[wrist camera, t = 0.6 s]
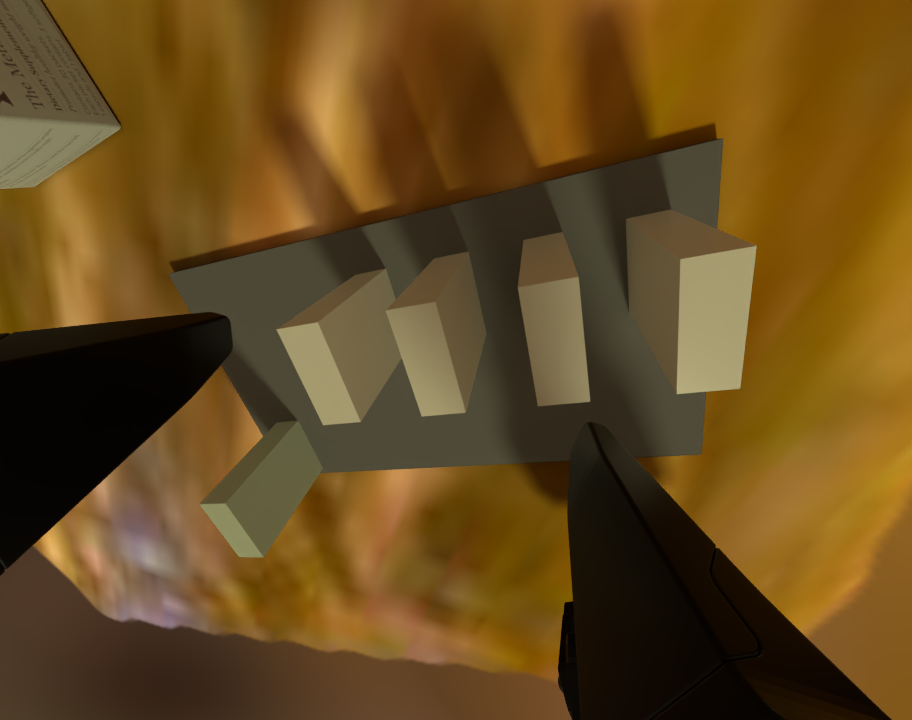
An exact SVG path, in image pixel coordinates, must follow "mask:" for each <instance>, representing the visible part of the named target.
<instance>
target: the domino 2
mask: <svg viewBox="0 0 912 720" xmlns="http://www.w3.org/2000/svg"><path fill="white" fill-rule="evenodd" d="M395 300H396V299H395V295H394V292H393V289H392V286H391V283H390V280H389V277H388V274H387V271H386V269H381V270H376V271H371V272H366V273H362V274H357V275H354V276H353V277H352V278H350V279H349V280H347V281H346V282H344V283H343V284H341V285H340V286H339V287H337V288H336V289H334V290H333V291H331V292H330V293H328V294H327V295H325V296H324V297H323V298H321V299H320V300H318V301H317V302H315V303H314V304H312V305H311V306H310V307H308V308H307V309H305V310H304V311H302V312H301V313H299V314H298V315H297V316H295V317H294V318H292V319H291V320H289V321H288V322H286V323H285V324H284V325H282V326H281V327H279V328H278V329H276V330H277V332H278V334H279V336H280V338H281V340H282V342H283V344H284V346H285V348H286V350H287V352H288V354H289V356H290V358H291V360H292V362H293V365H294V367H295V369H296V371H297V373H298V375H299V377H300V379H301V381H302V383H303V385H304V387H305V389H306V391H307V393H308V395H309V397H310V399H311V401H312V403H313V406H314V408H315V410H316V412H317V414H318V416H319V418H320V420H321V422H322V424H323V425H332V424H343V423H355V422H361V421H362V419H363V418H364V416H365V415H366V413H367V411H368V410H369V408H370V407H371V405H372V404H373V402H374V400H375V399H376V397H377V396H378V394H379V393H380V391H381V390H382V388H383V386H384V385H385V383H386V382H387V380H388V379H389V377H390V376H391V374H392V372H393V371H394V369H395V368H396V366H397V365H398V363H399V361H400V360H401V358H402V357H401V354H400V351H399V348H398V345H397V342H396V339H395V336H394V333H393V330H392V327H391V325H390V322H389V319H388V316H387V313H386V310H387V309H388V307H389V306H390V305H391V304H392V303H393V302H394V301H395Z"/></svg>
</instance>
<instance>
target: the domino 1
mask: <svg viewBox="0 0 912 720" xmlns="http://www.w3.org/2000/svg"><path fill="white" fill-rule="evenodd" d="M322 469H323V467H322V465H321V463H320V462H319V460H318V458H317V456H316V454H315V452H314V450H313V448H312V446H311V444H310V442H309V440H308V438H307V437H306V435H305V433H304V431H303V429H302V427H301V425H300V423H299V421H287V422H277V423H276V424H275V425H274V426H273V427H272V428H271V429H270V430H269V431H268V432H267V433H266V434H265V435H264V437H263V438H262V439H261V440H260V441H259V442H258V443H257V444H256V445H255V446H254V447H253V448H252V449H251V450H250V451H249V452H248V453H247V454H246V456H245V457H244V458H243V459H242V460H241V461H240V462H239V463H238V464H237V465H236V466H235V467H234V468H233V469H232V470H231V471H230V472H229V473H228V474H227V476H226V477H225V478H224V479H223V480H222V481H221V482H220V483H219V484H218V485H217V486H216V487H215V488H214V489H213V490H212V491H211V492H210V493H209V495H208V496H207V497H206V498H205V499H204V500H203V501H202V502H201V503H200V506H201V507H202V508H203V510H204V511H205V512H206V514H207V515H208V516H209V518H210V519H211V520H212V522H213V523H214V524H215V526H216V527H217V528H218V530H219V531H220V532H221V533H222V535H223V536H224V537H225V539H226V540H227V541H228V543H229V544H230V545H231V547H232V548H233V549H234V551H235V552H236V553H237V555H238V556H239V557H264V556H265V555H266V553H267V552H268V550H269V549H270V547H271V546H272V544H273V543H274V541H275V540H276V538H277V537H278V535H279V534H280V532H281V531H282V529H283V528H284V526H285V525H286V523H287V522H288V520H289V519H290V517H291V516H292V514H293V513H294V511H295V510H296V508H297V507H298V505H299V504H300V502H301V501H302V499H303V498H304V496H305V495H306V493H307V492H308V490H309V489H310V487H311V486H312V484H313V483H314V481H315V480H316V478H317V477H318V475H319V474H320V472H321V471H322Z"/></svg>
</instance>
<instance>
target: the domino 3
mask: <svg viewBox="0 0 912 720" xmlns="http://www.w3.org/2000/svg"><path fill="white" fill-rule="evenodd" d="M386 313H387V316H388V319H389V322H390V325H391V327H392V330H393V333H394V336H395V339H396V342H397V345H398V348H399V351H400V354H401V357H402V360H403V363H404V366H405V369H406V372H407V375H408V378H409V381H410V383H411V386H412V389H413V392H414V395H415V398H416V401H417V404H418V407H419V410H420V413H421V416H422V417H423V416H434V415H446V414H457V413H466V410H467V406H468V403H469V399H470V395H471V391H472V387H473V383H474V380H475V376H476V372H477V368H478V364H479V360H480V357H481V353H482V349H483V345H484V341H485V338H486V334H487V333H486V329H485V324H484V320H483V315H482V311H481V306H480V301H479V297H478V292H477V288H476V283H475V279H474V274H473V270H472V265H471V261H470V256H469V251H468V252H463V253H458V254H453V255H449V256H444V257H439V258H434V259H433V260H432V261H431V262H430V263H429V265H428V266H427V267H426V268H425V269H424V270H423V271H422V272H421V273H420V274H419V275H418V276H417V277H416V278H415V280H414V281H413V282H412V283H411V284H410V285H409V286H408V287H407V288H406V289H405V290H404V291H403V292H402V294H401V295H400V296H399V297H398V298H397V299H396V300H395V301H394V302H393V303H392V304H391V305H390V306H389V307H388V309H387V310H386Z"/></svg>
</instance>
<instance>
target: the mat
mask: <svg viewBox="0 0 912 720" xmlns="http://www.w3.org/2000/svg"><path fill="white" fill-rule="evenodd" d="M722 148H723V139H715V140H711V141H707V142H703V143H699V144H695V145H691V146H687V147H682V148H678V149H674V150H670V151H666V152H662V153H658V154H654V155H650V156H646V157H642V158H638V159H633V160H629V161H625V162H621V163H617V164H613V165H609V166H605V167H601V168H597V169H593V170H589V171H584V172H580V173H576V174H572V175H568V176H564V177H560V178H556V179H552V180H548V181H544V182H540V183H536V184H531V185H527V186H523V187H519V188H515V189H511V190H507V191H503V192H499V193H495V194H491V195H487V196H482V197H478V198H474V199H470V200H466V201H462V202H458V203H454V204H450V205H446V206H442V207H438V208H433V209H429V210H425V211H421V212H417V213H413V214H409V215H405V216H401V217H397V218H393V219H389V220H385V221H380V222H376V223H372V224H368V225H364V226H360V227H356V228H352V229H348V230H344V231H340V232H336V233H331V234H327V235H323V236H319V237H315V238H311V239H307V240H303V241H299V242H295V243H291V244H287V245H282V246H278V247H274V248H270V249H266V250H262V251H258V252H254V253H250V254H246V255H242V256H238V257H234V258H229V259H225V260H221V261H217V262H213V263H209V264H205V265H201V266H197V267H193V268H189V269H185V270H180V271H176V272H173V273H170V274H169V276H170V278H171V279H172V281H173V283H174V285H175V286H176V288H177V290H178V291H179V293H180V295H181V297H182V298H183V300H184V302H185V303H186V305H187V307H188V309H189V310H190V312H191V314H193V313H203V312H215V313H218V314H221V315H225V316H227V317H228V318H229V319H230V322H231V330H232V339H233V349H232V352H231V354H230V355H229V356H228V358H227V359H226V360H225V361H224V362H223V363H222V364H221V365H222V367H223V368H224V370H225V372H226V373H227V375H228V377H229V379H230V380H231V382H232V384H233V385H234V387H235V389H236V391H237V392H238V394H239V396H240V397H241V399H242V401H243V403H244V404H245V406H246V408H247V409H248V411H249V413H250V415H251V416H252V418H253V420H254V421H255V423H256V425H257V426H258V428H259V430H260V432H261V433H262V435H263V437H264V435H265V434H266V433H267V432H268V431H269V430H270V429H271V428H272V427H273V426H274V425H275V424H276V423H277V422H287V421H299V423H300V425H301V427H302V429H303V431H304V433H305V435H306V437H307V438H308V440H309V442H310V444H311V446H312V448H313V450H314V452H315V454H316V456H317V458H318V460H319V462H320V463H321V465H322V467H323V469H322V471H321V472H320V473H330V472H350V471H371V470H391V469H412V468H432V467H453V466H473V465H494V464H515V463H535V462H556V461H570V454H571V450H572V447H573V444H574V442H575V440H576V438H577V436H578V434H579V432H580V430H581V428H582V426H583V425H584V423H585V422H587V421H592V422H595V423H599V424H602V425H604V426H606V427H607V428H608V430H609V431H610V432H611V433H612V434H613V435H614V436H615V437H616V438H617V439H618V440H619V441H620V442H621V444H622V445H623V446H624V447H625V448H626V449H627V450H628V451H629V452H630V453H631V454H632V455H633V456H634V458H638V457H658V456H679V455H699V454H702V441H703V426H704V412H705V397H706V392H696V393H684V394H676V392H675V390H674V389H673V387H672V385H671V384H670V382H669V380H668V379H667V377H666V375H665V373H664V372H663V370H662V368H661V367H660V365H659V363H658V361H657V360H656V358H655V356H654V355H653V353H652V351H651V350H650V348H649V346H648V344H647V343H646V341H645V339H644V338H643V336H642V334H641V332H640V331H639V329H638V327H637V326H636V324H635V322H634V321H633V319H632V317H631V315H630V314H629V296H628V268H627V239H626V219H627V218H632V217H637V216H642V215H647V214H651V213H656V212H661V211H666V210H674V211H676V212H678V213H681V214H683V215H685V216H688V217H690V218H692V219H695V220H697V221H699V222H702V223H704V224H706V225H709V226H711V227H713V228H716V229H717V222H718V207H719V192H720V178H721V163H722ZM560 232H563V234H564V237H565V240H566V243H567V245H568V248H569V251H570V254H571V257H572V260H573V262H574V265H575V268H576V271H577V274H578V277H579V286H580V297H581V308H582V318H583V329H584V340H585V350H586V361H587V372H588V382H589V393H590V402H582V403H571V404H559V405H548V406H538V404H537V398H536V392H535V386H534V380H533V375H532V369H531V363H530V357H529V351H528V345H527V339H526V333H525V327H524V321H523V315H522V310H521V304H520V298H519V292H518V281H519V273H520V265H521V256H522V248H523V240H526V239H531V238H535V237H540V236H545V235H550V234H555V233H560ZM468 251H469V256H470V261H471V265H472V270H473V274H474V279H475V283H476V288H477V292H478V297H479V301H480V306H481V311H482V315H483V320H484V324H485V329H486V333H487V334H486V338H485V341H484V345H483V349H482V353H481V357H480V360H479V364H478V368H477V372H476V376H475V380H474V383H473V387H472V391H471V395H470V399H469V403H468V406H467V410H466V413H457V414H446V415H434V416H423V417H422V416H421V413H420V410H419V407H418V404H417V401H416V398H415V395H414V392H413V389H412V386H411V383H410V381H409V378H408V375H407V372H406V369H405V366H404V363H403V360H402V358H401V360H400V361H399V363H398V365H397V366H396V368H395V369H394V371H393V372H392V374H391V376H390V377H389V379H388V380H387V382H386V383H385V385H384V386H383V388H382V390H381V391H380V393H379V394H378V396H377V397H376V399H375V400H374V402H373V404H372V405H371V407H370V408H369V410H368V411H367V413H366V415H365V416H364V418H363V419H362V421H361V422H355V423H343V424H332V425H323V424H322V422H321V420H320V418H319V416H318V414H317V412H316V410H315V408H314V406H313V403H312V401H311V399H310V397H309V395H308V393H307V391H306V389H305V387H304V385H303V383H302V381H301V379H300V377H299V375H298V373H297V371H296V369H295V367H294V365H293V362H292V360H291V358H290V356H289V354H288V352H287V350H286V348H285V346H284V344H283V342H282V340H281V338H280V336H279V334H278V332H277V330H276V329H278V328H279V327H281V326H282V325H284V324H285V323H286V322H288V321H289V320H291V319H292V318H294V317H295V316H297V315H298V314H299V313H301V312H302V311H304V310H305V309H307V308H308V307H310V306H311V305H312V304H314V303H315V302H317V301H318V300H320V299H321V298H323V297H324V296H325V295H327V294H328V293H330V292H331V291H333V290H334V289H336V288H337V287H339V286H340V285H341V284H343V283H344V282H346V281H347V280H349V279H350V278H352V277H353V276H354V275H357V274H362V273H366V272H371V271H376V270H381V269H386V271H387V274H388V277H389V280H390V283H391V286H392V289H393V292H394V295H395V299H397V298H398V297H399V296H400V295H401V294H402V292H403V291H404V290H405V289H406V288H407V287H408V286H409V285H410V284H411V283H412V282H413V281H414V280H415V278H416V277H417V276H418V275H419V274H420V273H421V272H422V271H423V270H424V269H425V268H426V267H427V266H428V265H429V263H430V262H431V261H432V260H433V259H434V258H439V257H444V256H449V255H453V254H458V253H463V252H468Z"/></svg>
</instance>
